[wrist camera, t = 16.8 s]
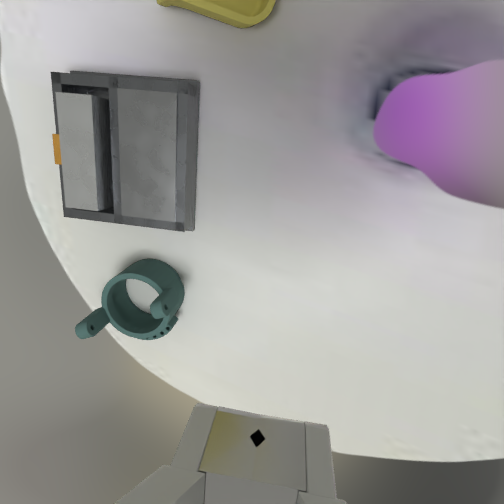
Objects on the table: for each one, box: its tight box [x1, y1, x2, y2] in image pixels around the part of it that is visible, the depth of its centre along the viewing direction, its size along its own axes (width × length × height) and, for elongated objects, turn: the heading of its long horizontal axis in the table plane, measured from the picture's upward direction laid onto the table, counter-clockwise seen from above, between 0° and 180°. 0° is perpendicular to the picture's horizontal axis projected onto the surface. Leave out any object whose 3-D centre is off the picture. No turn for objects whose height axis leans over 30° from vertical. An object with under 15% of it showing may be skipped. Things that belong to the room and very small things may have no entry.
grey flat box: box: [51, 71, 200, 232], centre depth 35 cm, size 16×14×4 cm
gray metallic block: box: [55, 92, 114, 211], centre depth 35 cm, size 11×4×5 cm, turn 175°
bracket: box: [75, 259, 185, 340], centre depth 38 cm, size 9×9×9 cm
